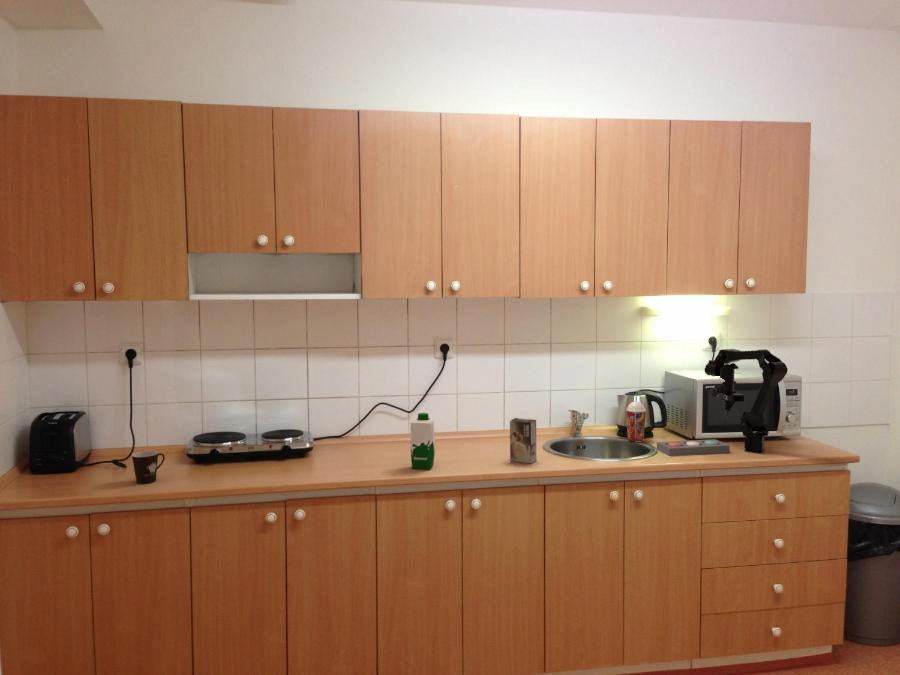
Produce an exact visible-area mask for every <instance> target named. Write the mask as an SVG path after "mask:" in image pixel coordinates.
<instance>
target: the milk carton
mask: <svg viewBox="0 0 900 675" xmlns="http://www.w3.org/2000/svg"><path fill="white" fill-rule="evenodd" d="M409 428H410V459H411V460H410V461H411V462H410V463H411V470H419V471H420V470H421V471H422V470H423V471H425V470H426V471H430V470H431V469H432V468H433V467H434V463H435V461H434V460H435V451H436V450H435V449H436V448H435V438H436V437H435V419H434V418H429V413H428V412H420V413H417V418H416V417H415V418H413V419H412V420H411V422H410V427H409Z"/></svg>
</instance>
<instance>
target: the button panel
mask: <svg viewBox="0 0 900 675" xmlns="http://www.w3.org/2000/svg"><path fill="white" fill-rule="evenodd" d="M690 441H693V442H698V443H699V445H696V446H689V445H687V444H686V442H690ZM705 441H716V442H718V444H716V445H707V444H705ZM670 442H676V443H680V444H681V446H676V447H671V446H669V445H668V443H670ZM730 447H731V445H729V444H728V443H725V442H723V441H720V440H718V439H715V438H714V439H712V438H711V439H697V440H695V439H693V440H675V441H657V442H656V450H657V451H659V452H662V453H663V454H665V455H667V456H669V457H675V456H677V457H678V456H690V455H691V456H693V455H696V456H697V455H712V453H716V454H728V453H729V454H730V452H731V451H730V450H731V448H730Z"/></svg>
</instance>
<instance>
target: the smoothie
mask: <svg viewBox="0 0 900 675" xmlns="http://www.w3.org/2000/svg"><path fill="white" fill-rule="evenodd" d="M625 412H626V428H627V433H626V434H627V438H628V441H629V440H630V441H629V442H631V441H642V440H644V438H645V429H646V416H647V409H646V408H645V406H644V404H643V403H642V402H640V401H639V400H638V395H637V394H635V400H634V401H632V402H630V403H629V404H628V406H627V407H626V409H625ZM642 442H643V441H642Z"/></svg>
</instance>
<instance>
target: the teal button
mask: <svg viewBox="0 0 900 675" xmlns="http://www.w3.org/2000/svg"><path fill="white" fill-rule="evenodd" d="M705 444H707V445H716V444H718V442H716V441H705Z"/></svg>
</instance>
